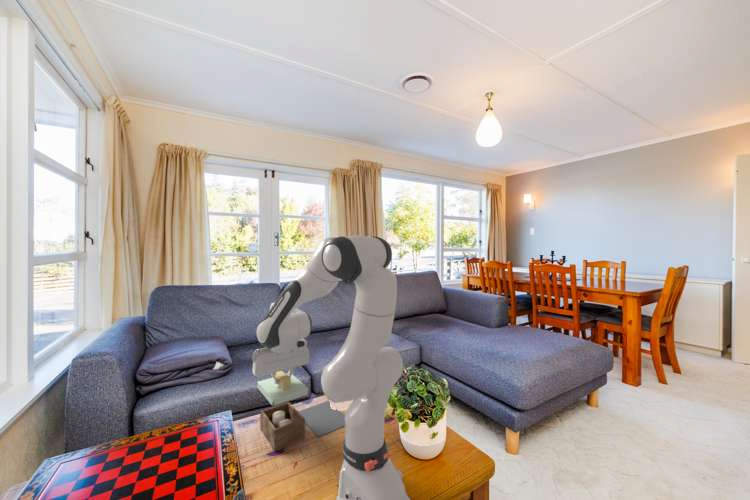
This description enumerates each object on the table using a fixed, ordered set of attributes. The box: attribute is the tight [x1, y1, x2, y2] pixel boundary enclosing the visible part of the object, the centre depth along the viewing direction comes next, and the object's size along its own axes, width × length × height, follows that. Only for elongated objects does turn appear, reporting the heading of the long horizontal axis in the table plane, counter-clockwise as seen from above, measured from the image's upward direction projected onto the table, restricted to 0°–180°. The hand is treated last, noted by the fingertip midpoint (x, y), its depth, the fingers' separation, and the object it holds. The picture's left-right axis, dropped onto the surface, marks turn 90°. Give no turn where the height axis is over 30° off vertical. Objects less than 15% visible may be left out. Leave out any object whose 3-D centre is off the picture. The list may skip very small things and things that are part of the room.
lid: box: [256, 370, 310, 407], centre depth 109 cm, size 17×13×6 cm
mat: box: [297, 400, 346, 438], centre depth 120 cm, size 20×15×1 cm
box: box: [259, 401, 306, 452], centre depth 109 cm, size 15×11×7 cm
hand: (282, 381), depth 109 cm, fingers closed on lid, 3 cm apart
